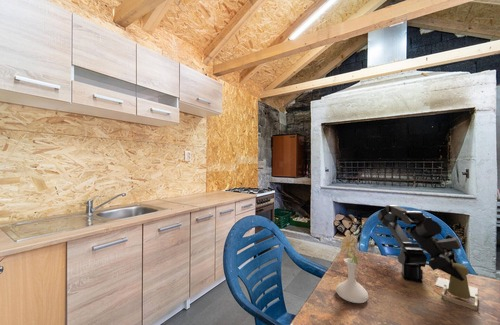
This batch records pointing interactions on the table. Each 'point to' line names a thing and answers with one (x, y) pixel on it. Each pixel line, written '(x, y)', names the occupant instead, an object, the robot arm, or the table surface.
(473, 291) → the white flat panel
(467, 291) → the cork
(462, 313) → the table surface
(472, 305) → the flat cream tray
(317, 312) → the table surface
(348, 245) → the flower in vase
